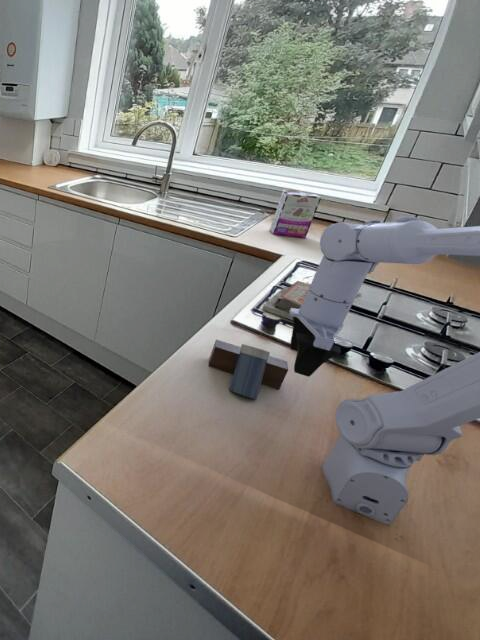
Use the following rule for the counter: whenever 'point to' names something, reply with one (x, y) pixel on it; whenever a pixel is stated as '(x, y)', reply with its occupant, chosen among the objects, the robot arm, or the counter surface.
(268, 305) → the packaged product
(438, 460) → the counter surface
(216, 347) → the pale-topped brown beam
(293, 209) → the candy bar box
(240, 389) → the blue lidded container
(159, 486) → the counter surface
